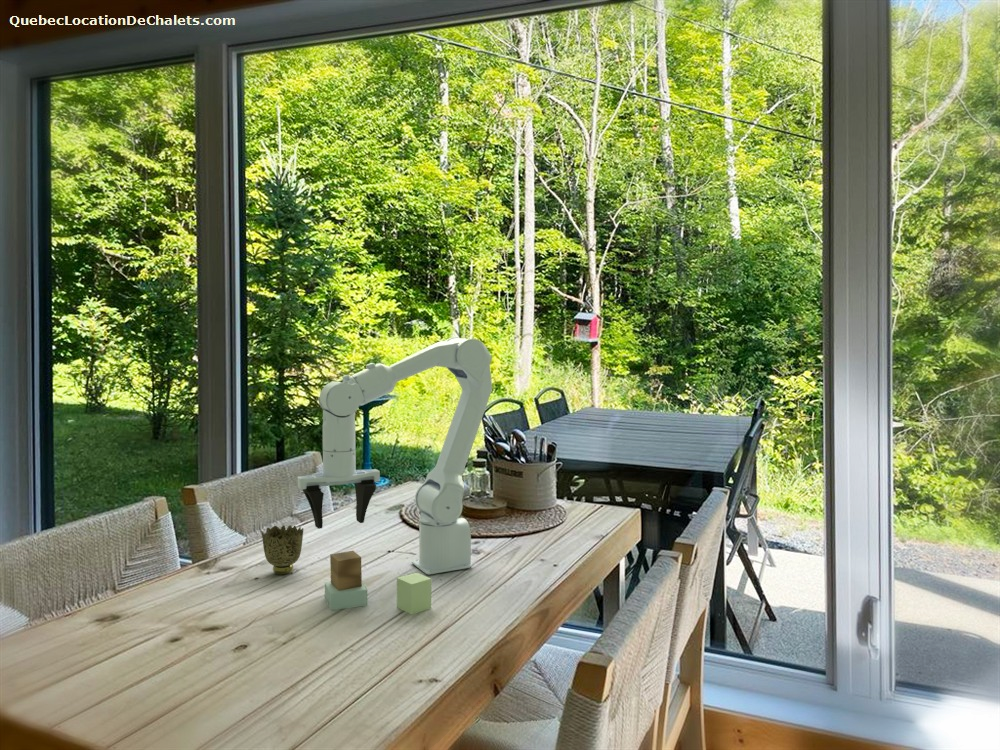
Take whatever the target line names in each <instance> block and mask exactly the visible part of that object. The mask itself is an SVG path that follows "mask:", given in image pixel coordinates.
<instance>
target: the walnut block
mask: <svg viewBox="0 0 1000 750" xmlns="http://www.w3.org/2000/svg"><path fill="white" fill-rule="evenodd" d="M329 556H330V558H329V559H330V582H331V584H332V585H333V586H334V587H335V588H336V589H337V590H338V591H340V590H345V589H350V588H356V587H361V586H362V582H363V579H362V577H363V576H362V557H361V555H359V554H358V553H357V552H356V551H354V550H349V551H342V552H337V553H331V554H329Z"/></svg>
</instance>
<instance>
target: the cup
mask: <svg viewBox="0 0 1000 750" xmlns="http://www.w3.org/2000/svg"><path fill="white" fill-rule="evenodd" d="M303 537H304V527H301V526H299V528H297V527H296V525H294V526H292V525H291V524H290V525H288V526H287V528H286V526H285V525H282V526H281V528H280V527H279V526H277V525H273V526H271V528H270V527H267V528H266V532H264V531H261V539H262V545H263V552H264V557H265V559H266V561H267V562H268V564H270V565H271V566H273V567H272V570H273V573H274V574H276V575H288V574H290V573H292V572H293V570H294V564H295V563H296V562H297V561H298V560H299V558H300V556H301V553H302V546H303Z"/></svg>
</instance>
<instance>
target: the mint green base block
mask: <svg viewBox="0 0 1000 750" xmlns="http://www.w3.org/2000/svg"><path fill="white" fill-rule="evenodd" d="M324 599H325V600H326V603H327V605H328V608H330V611H334V610H342V609H349V608H356V607H362V606H363V607H365V606H368V605H369V604H368V602H369V600H368V588H367V587H366V585H365V583H364V582H363V581H362V586H361V587H356V588H350V589H345V590H340V591H338V590H337V589H336V588H335V587H334V586H333V585H332V584H331V581H324Z"/></svg>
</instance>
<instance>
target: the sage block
mask: <svg viewBox="0 0 1000 750" xmlns="http://www.w3.org/2000/svg"><path fill="white" fill-rule="evenodd" d="M396 608H397V609H399V610H402V611H403V612H404V613H405V612H406V613H407V614H410V615H414V614H418V613H420V612H423V611H427V610H429V609H432V578H430V576H426V575H424V574H421V573H419V572H414V573H411V574H410V573H409V574H406V575H402V576H400V577H396Z"/></svg>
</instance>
